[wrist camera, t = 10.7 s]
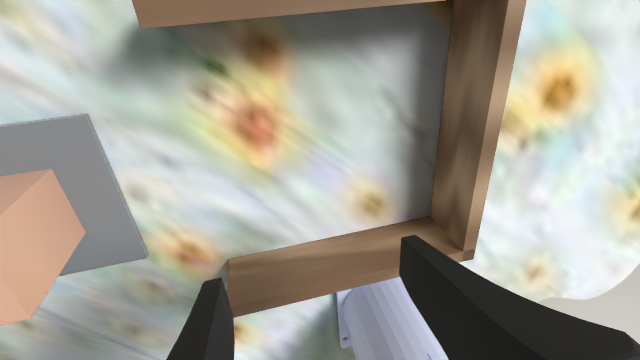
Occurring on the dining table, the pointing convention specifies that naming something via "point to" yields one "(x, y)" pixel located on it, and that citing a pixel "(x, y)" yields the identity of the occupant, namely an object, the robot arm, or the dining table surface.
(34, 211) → the block
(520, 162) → the dining table surface
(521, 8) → the open frame
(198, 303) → the robot arm
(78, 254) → the mat
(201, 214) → the dining table surface
